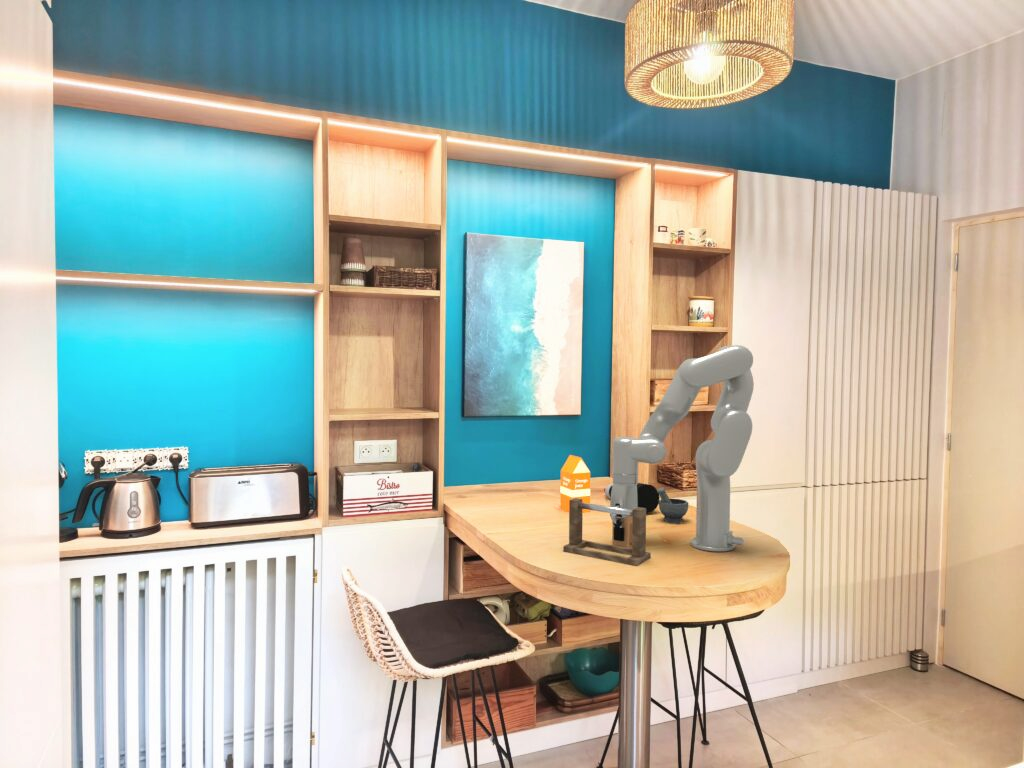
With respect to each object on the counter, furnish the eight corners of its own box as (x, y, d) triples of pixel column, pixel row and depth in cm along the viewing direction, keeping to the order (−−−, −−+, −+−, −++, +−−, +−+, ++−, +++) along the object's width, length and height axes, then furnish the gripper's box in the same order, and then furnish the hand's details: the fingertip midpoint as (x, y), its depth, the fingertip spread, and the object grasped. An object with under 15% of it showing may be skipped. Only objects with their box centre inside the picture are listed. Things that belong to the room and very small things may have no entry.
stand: (650, 557, 184) (651, 506, 183) (637, 566, 176) (637, 512, 176) (578, 544, 197) (579, 496, 196) (563, 551, 189) (563, 501, 189)
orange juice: (571, 513, 235) (572, 458, 234) (560, 508, 243) (560, 455, 242) (590, 511, 238) (590, 457, 237) (578, 506, 246) (578, 453, 245)
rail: (642, 517, 181) (642, 510, 181) (639, 518, 179) (640, 511, 179) (575, 506, 193) (575, 500, 193) (572, 507, 191) (572, 501, 191)
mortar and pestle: (677, 517, 231) (678, 483, 230) (693, 523, 222) (693, 488, 221) (649, 519, 227) (650, 485, 227) (664, 526, 218) (665, 490, 218)
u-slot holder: (636, 543, 197) (636, 514, 197) (627, 548, 192) (628, 518, 192) (621, 541, 200) (621, 511, 200) (612, 545, 195) (612, 515, 195)
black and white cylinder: (611, 506, 266) (621, 483, 268) (653, 517, 234) (663, 491, 236) (590, 496, 264) (600, 473, 266) (629, 506, 231) (640, 479, 233)
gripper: (626, 473, 205) (625, 529, 206) (600, 481, 191) (599, 542, 191) (648, 475, 200) (647, 533, 201) (624, 484, 186) (623, 546, 187)
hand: (624, 537), depth 196 cm, fingers open, 6 cm apart
